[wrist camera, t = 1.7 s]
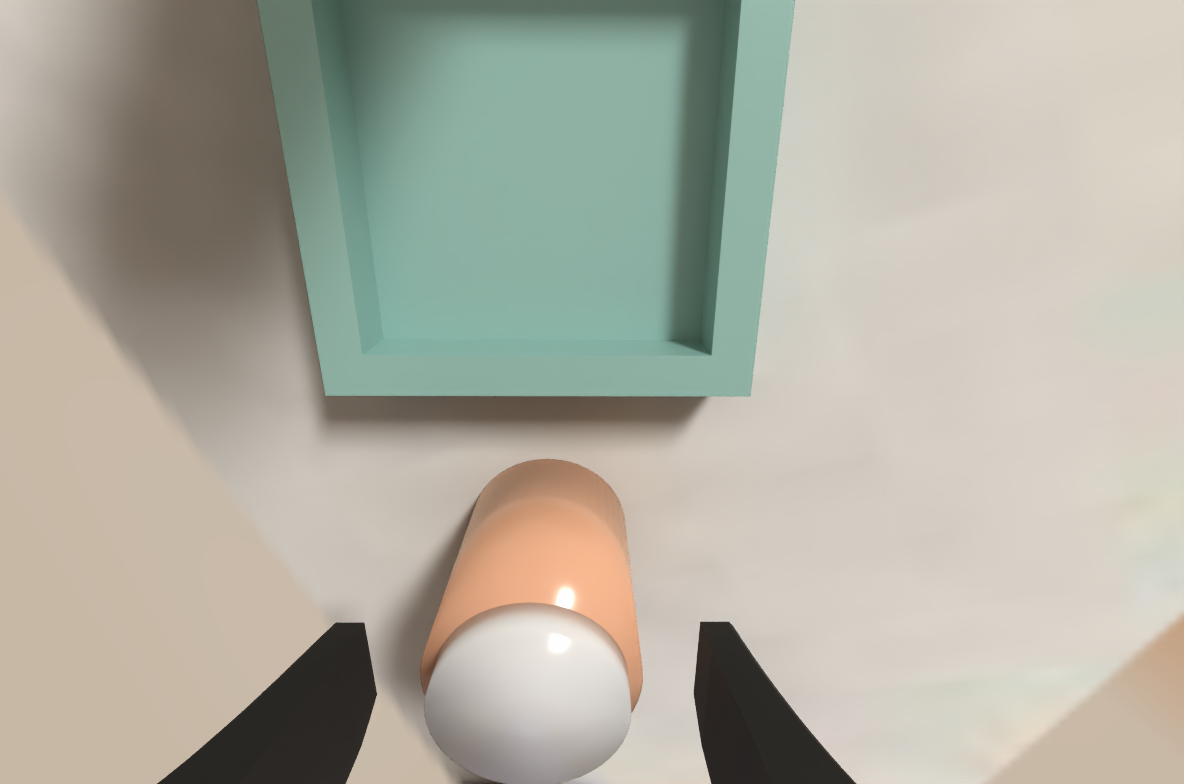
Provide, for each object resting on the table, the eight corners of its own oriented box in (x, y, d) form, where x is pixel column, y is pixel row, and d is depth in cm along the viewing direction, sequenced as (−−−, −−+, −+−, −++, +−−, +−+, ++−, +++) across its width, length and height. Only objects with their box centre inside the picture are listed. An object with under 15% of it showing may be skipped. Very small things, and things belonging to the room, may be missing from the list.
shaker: (622, 589, 17) (642, 795, 11) (477, 589, 17) (421, 796, 11) (627, 458, 16) (652, 620, 10) (467, 459, 16) (395, 620, 10)
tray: (729, 370, 15) (750, 396, 13) (358, 369, 15) (325, 395, 13) (774, -88, 11) (810, -144, 9) (290, -93, 11) (230, -151, 9)
